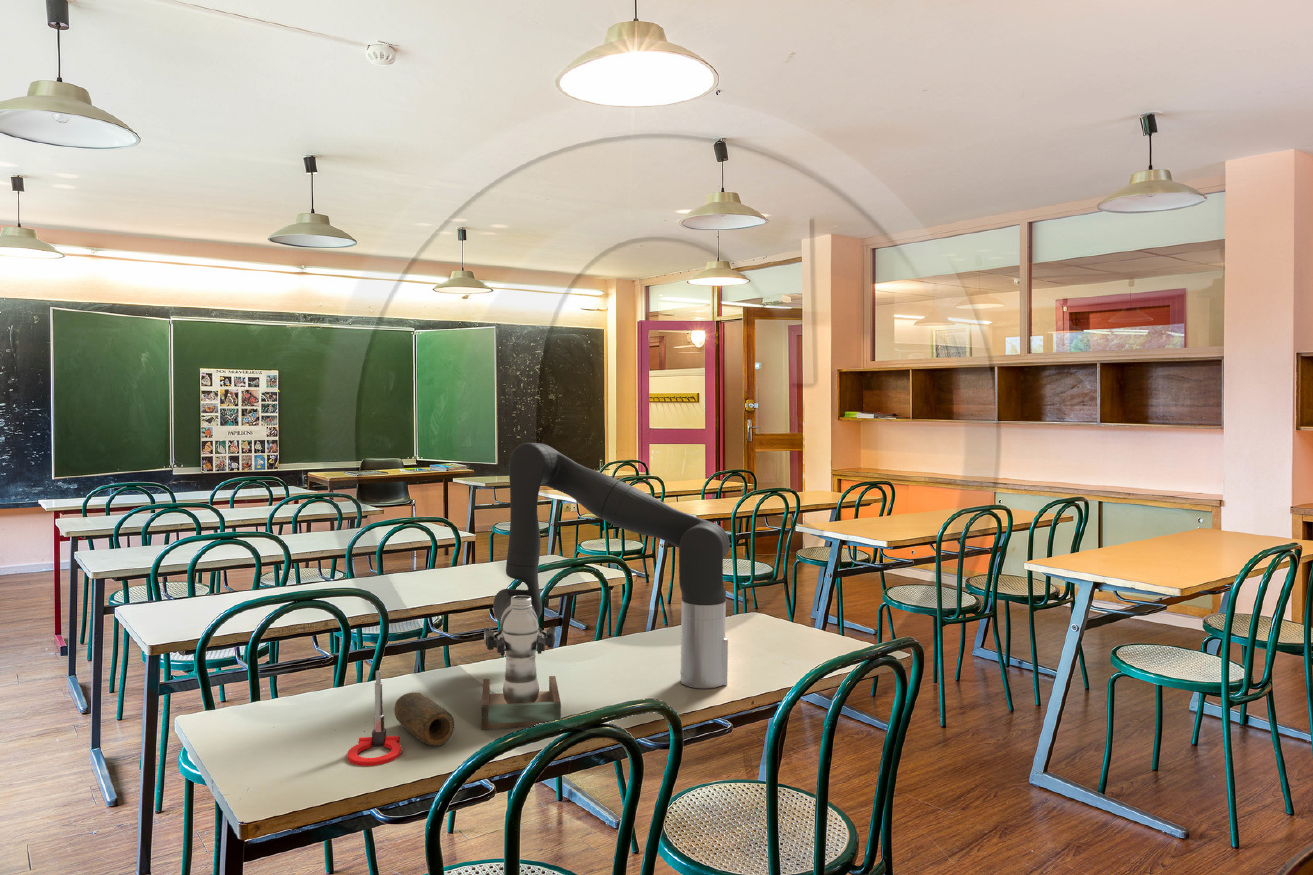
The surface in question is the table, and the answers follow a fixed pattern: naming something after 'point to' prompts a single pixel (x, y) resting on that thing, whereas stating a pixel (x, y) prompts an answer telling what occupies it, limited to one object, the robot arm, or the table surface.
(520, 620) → the plastic bottle
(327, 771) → the table surface
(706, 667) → the robot arm
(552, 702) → the bay
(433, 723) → the brown wooden tube
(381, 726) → the tow hook
